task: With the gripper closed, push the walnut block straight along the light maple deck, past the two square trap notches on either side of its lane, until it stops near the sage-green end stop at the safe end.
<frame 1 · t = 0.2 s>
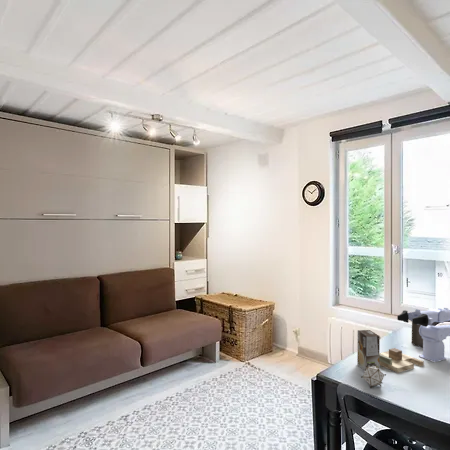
hand: (405, 319, 162), 21 cm above the table, tool horizontal, fingers open, 7 cm apart
dark brown upright box: (421, 344, 190), on the table
trap deck: (395, 362, 164), on the table
walnut block: (395, 358, 164), point 2 cm above the table, touching trap deck
coffee box: (368, 368, 158), on the table
game die: (373, 386, 141), on the table
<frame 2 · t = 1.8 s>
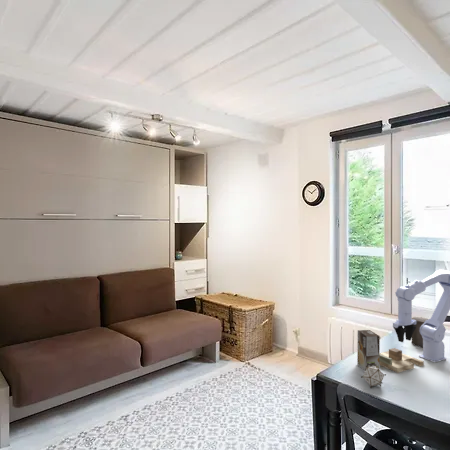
hand: (404, 340, 167), 9 cm above the table, tool pointing down, fingers open, 5 cm apart
nothing on the table moved.
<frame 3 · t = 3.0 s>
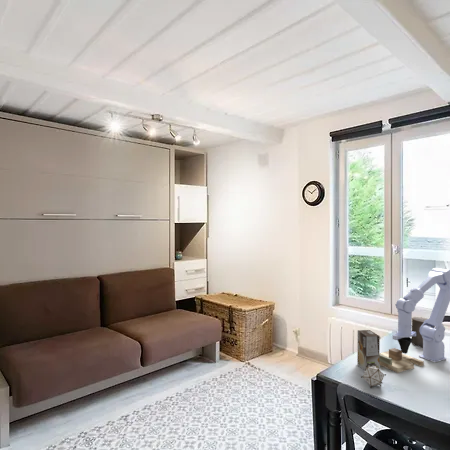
hand: (404, 352, 167), 4 cm above the table, tool pointing down, fingers closed
nothing on the table moved.
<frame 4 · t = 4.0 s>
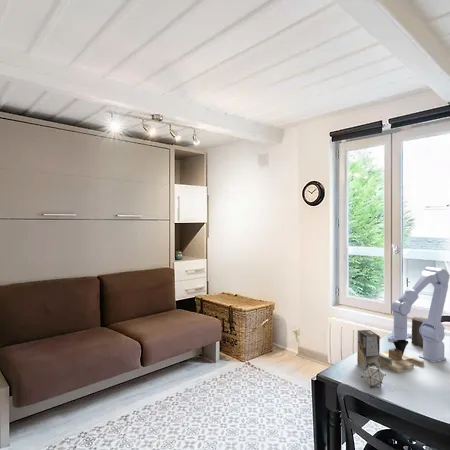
hand: (400, 355, 166), 3 cm above the table, tool pointing down, fingers closed
walnut block: (395, 358, 164), point 2 cm above the table, touching gripper
everything else where it was.
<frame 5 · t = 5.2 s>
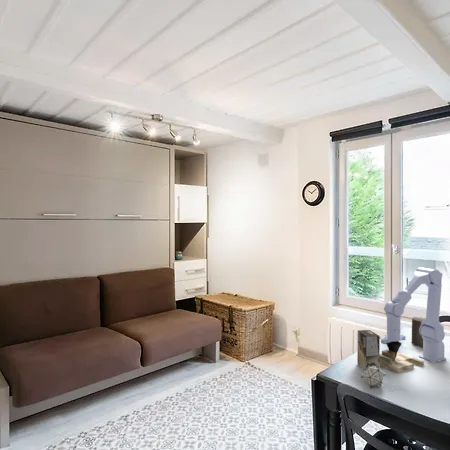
hand: (393, 357, 164), 3 cm above the table, tool pointing down, fingers closed
walnut block: (388, 360, 162), point 2 cm above the table, touching gripper, trap deck
everything else where it was.
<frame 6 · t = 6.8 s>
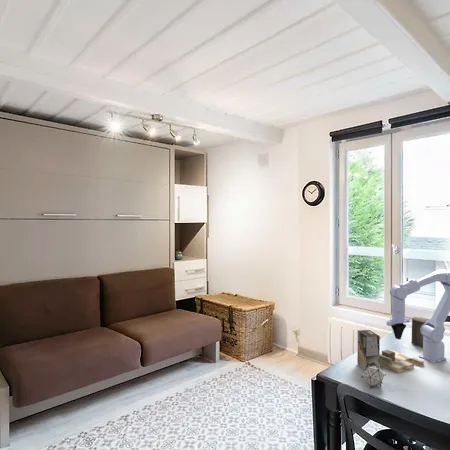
hand: (398, 338, 170), 9 cm above the table, tool pointing down, fingers closed
walnut block: (388, 360, 162), point 2 cm above the table, touching trap deck
everything else where it was.
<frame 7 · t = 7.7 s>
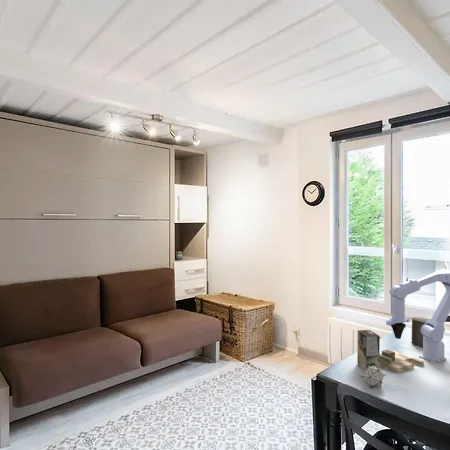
hand: (397, 338, 171), 9 cm above the table, tool pointing down, fingers closed
nothing on the table moved.
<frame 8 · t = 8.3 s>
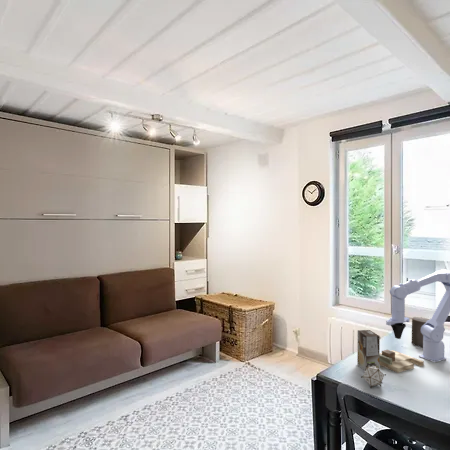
hand: (397, 338, 171), 9 cm above the table, tool pointing down, fingers closed
nothing on the table moved.
at the end: walnut block 0.5 cm from the target spot on the trap deck, point 2.0 cm above the trap deck's base; walnut block tilted 0° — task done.
